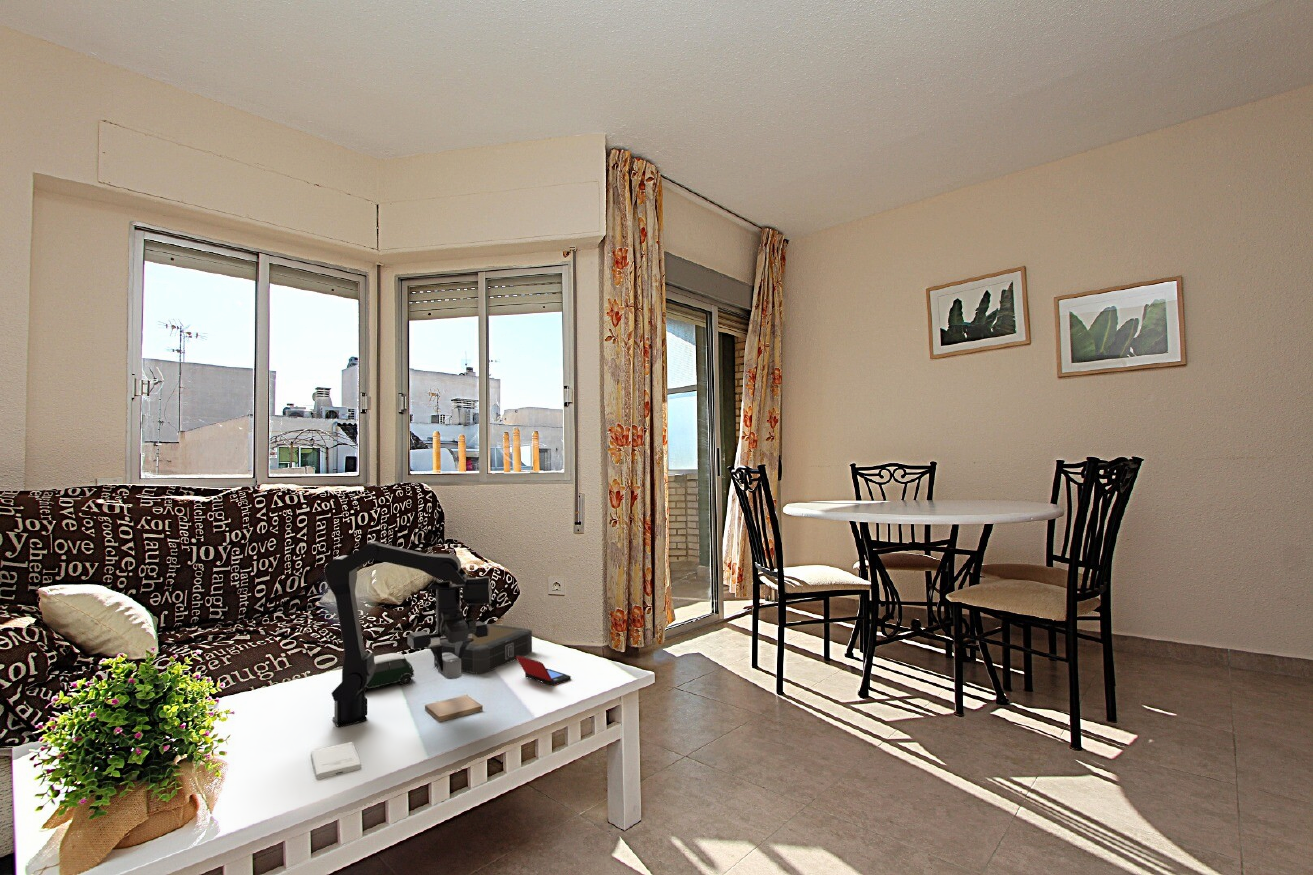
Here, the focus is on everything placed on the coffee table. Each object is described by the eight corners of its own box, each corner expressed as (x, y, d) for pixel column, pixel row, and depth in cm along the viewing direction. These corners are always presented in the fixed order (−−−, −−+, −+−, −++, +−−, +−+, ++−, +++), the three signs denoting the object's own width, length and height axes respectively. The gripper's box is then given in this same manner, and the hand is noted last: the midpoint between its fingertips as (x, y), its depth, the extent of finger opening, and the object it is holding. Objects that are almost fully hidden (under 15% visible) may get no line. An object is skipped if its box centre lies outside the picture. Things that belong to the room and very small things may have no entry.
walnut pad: (439, 721, 158) (439, 716, 158) (425, 709, 166) (425, 704, 166) (482, 710, 164) (482, 705, 164) (467, 699, 172) (467, 694, 172)
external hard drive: (352, 749, 145) (361, 770, 134) (310, 758, 140) (316, 781, 130) (352, 741, 145) (361, 762, 134) (310, 750, 140) (316, 773, 130)
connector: (448, 680, 158) (448, 663, 158) (432, 668, 168) (432, 652, 168) (463, 677, 160) (463, 660, 161) (446, 665, 170) (446, 649, 170)
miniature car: (340, 689, 182) (340, 659, 182) (406, 675, 193) (406, 647, 194) (349, 698, 175) (349, 667, 175) (417, 682, 186) (417, 654, 187)
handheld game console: (572, 680, 187) (572, 653, 187) (542, 690, 179) (541, 662, 179) (545, 671, 195) (545, 645, 196) (515, 680, 187) (514, 654, 188)
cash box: (483, 676, 192) (483, 649, 192) (431, 667, 201) (431, 641, 201) (535, 652, 214) (535, 629, 214) (487, 645, 223) (487, 622, 223)
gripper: (420, 618, 152) (421, 686, 151) (496, 605, 163) (497, 669, 162) (406, 609, 161) (407, 674, 160) (480, 598, 172) (480, 659, 171)
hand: (449, 669), depth 163 cm, fingers closed on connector, 4 cm apart
